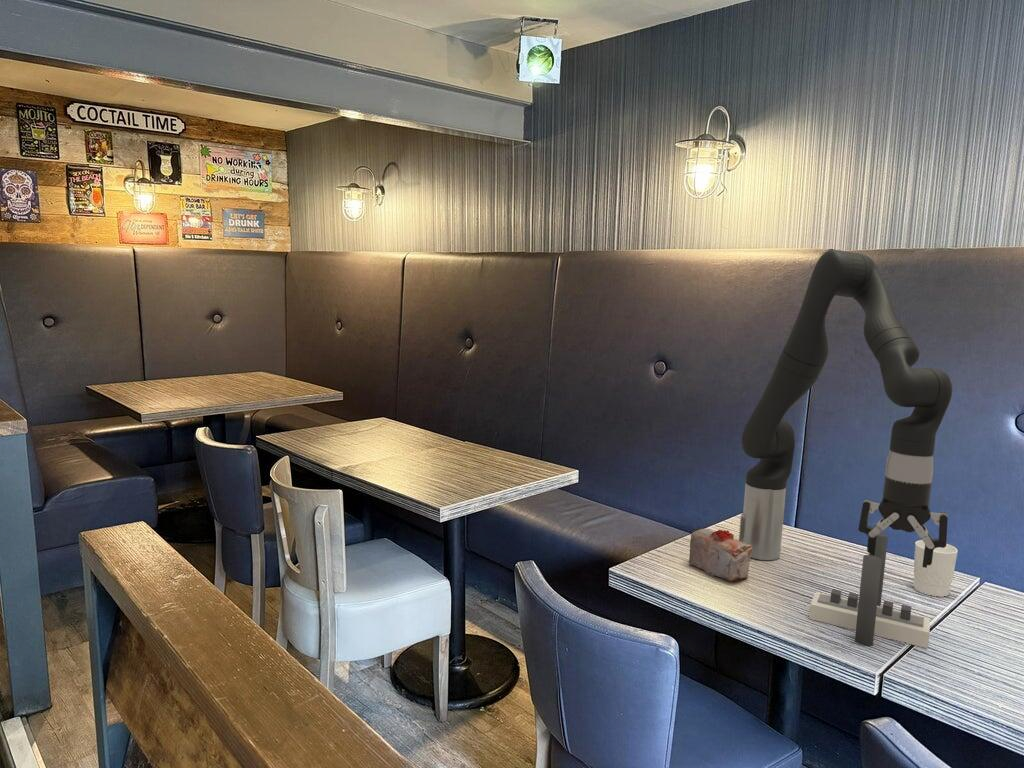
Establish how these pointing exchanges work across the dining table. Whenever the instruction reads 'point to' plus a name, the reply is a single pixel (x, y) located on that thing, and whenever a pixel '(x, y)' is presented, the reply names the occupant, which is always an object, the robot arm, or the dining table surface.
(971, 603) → the dining table surface
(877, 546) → the dark grey cylinder rod
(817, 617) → the breaker panel
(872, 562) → the dark grey post
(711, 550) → the food item
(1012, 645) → the dining table surface
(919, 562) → the white cup
